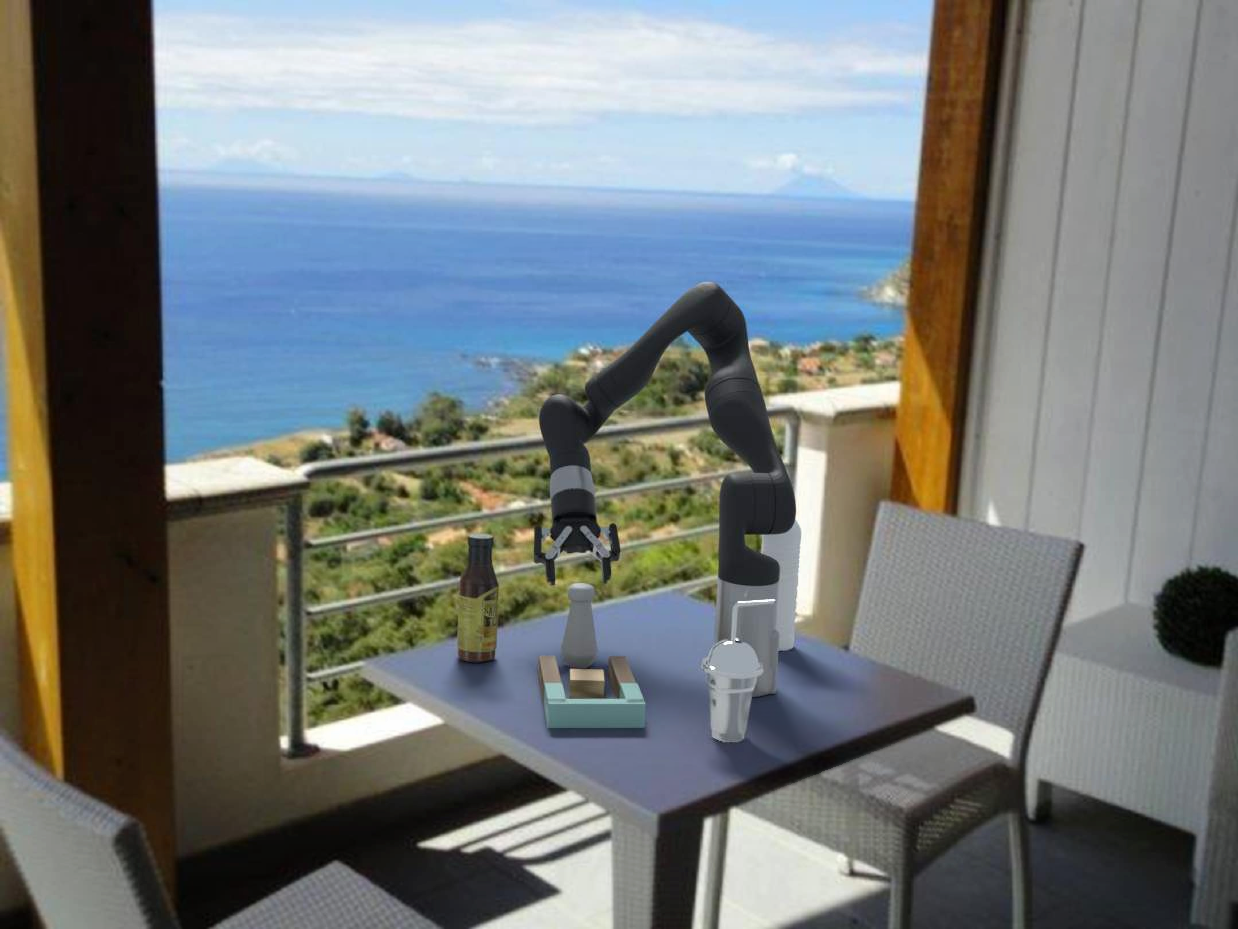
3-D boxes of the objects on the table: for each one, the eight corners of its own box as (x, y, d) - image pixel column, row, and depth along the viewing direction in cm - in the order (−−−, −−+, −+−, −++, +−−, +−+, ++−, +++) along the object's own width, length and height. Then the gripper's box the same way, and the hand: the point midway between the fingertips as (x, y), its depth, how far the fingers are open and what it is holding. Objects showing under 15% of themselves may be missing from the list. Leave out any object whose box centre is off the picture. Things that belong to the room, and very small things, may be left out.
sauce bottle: (489, 666, 204) (493, 542, 201) (451, 662, 205) (454, 538, 202) (501, 653, 211) (505, 533, 207) (464, 649, 212) (467, 530, 208)
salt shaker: (603, 663, 208) (607, 584, 206) (583, 672, 203) (587, 591, 201) (573, 656, 211) (576, 578, 209) (553, 665, 206) (556, 585, 204)
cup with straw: (720, 720, 185) (728, 584, 182) (774, 738, 179) (783, 597, 176) (684, 736, 179) (692, 594, 175) (739, 755, 173) (748, 608, 170)
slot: (624, 674, 203) (625, 656, 203) (636, 706, 189) (637, 686, 189) (538, 674, 201) (538, 655, 201) (543, 706, 188) (544, 686, 187)
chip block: (602, 688, 197) (603, 669, 196) (603, 700, 192) (604, 680, 192) (569, 687, 197) (570, 668, 196) (569, 699, 192) (570, 679, 191)
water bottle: (754, 639, 225) (763, 496, 220) (792, 641, 224) (802, 498, 220) (756, 654, 216) (766, 506, 212) (796, 657, 216) (806, 508, 211)
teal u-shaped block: (636, 706, 189) (637, 683, 189) (644, 728, 181) (645, 703, 180) (543, 706, 188) (544, 683, 187) (547, 728, 179) (548, 703, 179)
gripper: (612, 509, 225) (620, 592, 216) (530, 511, 224) (534, 595, 214) (616, 485, 219) (624, 569, 210) (531, 487, 217) (536, 572, 208)
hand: (579, 582), depth 212 cm, fingers open, 8 cm apart
